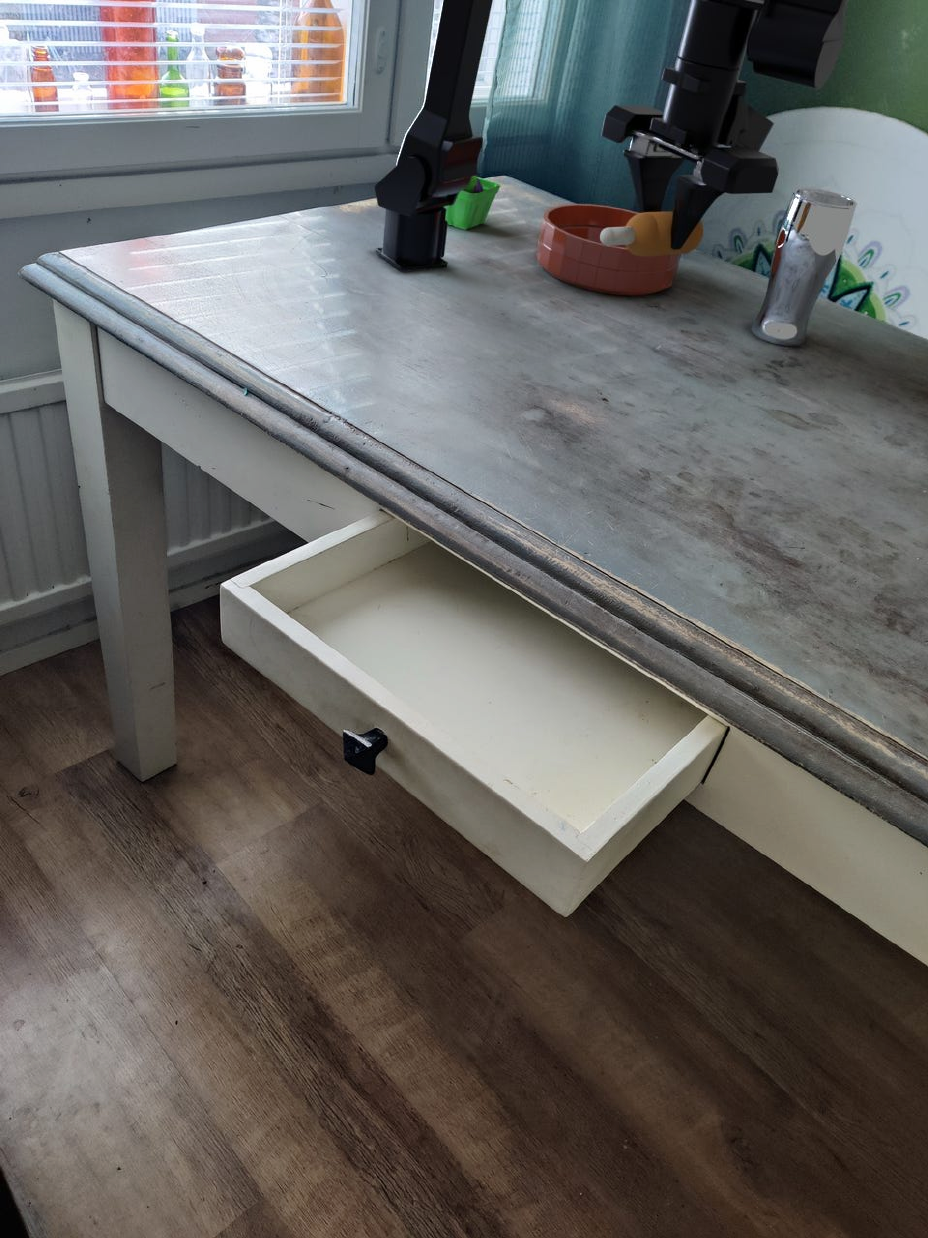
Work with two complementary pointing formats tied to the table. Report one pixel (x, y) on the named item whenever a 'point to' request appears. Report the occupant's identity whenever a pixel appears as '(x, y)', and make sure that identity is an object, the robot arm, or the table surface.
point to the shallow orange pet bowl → (599, 252)
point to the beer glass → (802, 262)
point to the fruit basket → (472, 204)
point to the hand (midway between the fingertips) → (661, 241)
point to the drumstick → (650, 235)
